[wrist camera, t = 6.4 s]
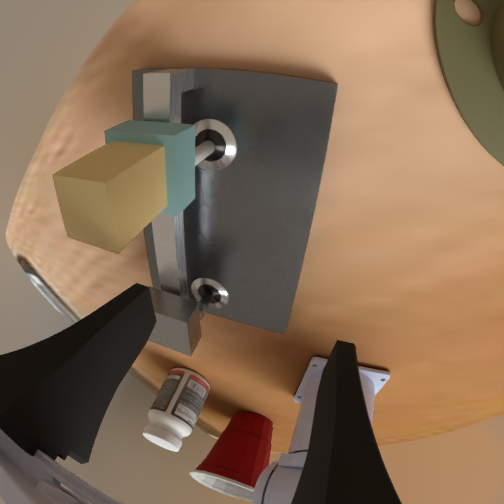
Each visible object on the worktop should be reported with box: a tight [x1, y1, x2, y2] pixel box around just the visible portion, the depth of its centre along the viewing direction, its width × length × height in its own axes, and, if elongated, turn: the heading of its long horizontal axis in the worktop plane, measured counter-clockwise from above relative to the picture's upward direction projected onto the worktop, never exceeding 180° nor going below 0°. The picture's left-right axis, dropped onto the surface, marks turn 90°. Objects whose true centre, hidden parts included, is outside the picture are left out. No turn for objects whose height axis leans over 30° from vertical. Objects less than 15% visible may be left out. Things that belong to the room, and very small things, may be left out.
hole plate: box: [132, 68, 338, 335], centre depth 20 cm, size 19×12×1 cm, turn 175°
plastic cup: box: [190, 412, 273, 501], centre depth 35 cm, size 11×11×12 cm
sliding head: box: [53, 120, 215, 254], centre depth 14 cm, size 4×4×9 cm
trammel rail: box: [143, 69, 213, 356], centre depth 19 cm, size 19×4×5 cm, turn 175°
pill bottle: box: [143, 368, 210, 452], centre depth 33 cm, size 6×6×10 cm
